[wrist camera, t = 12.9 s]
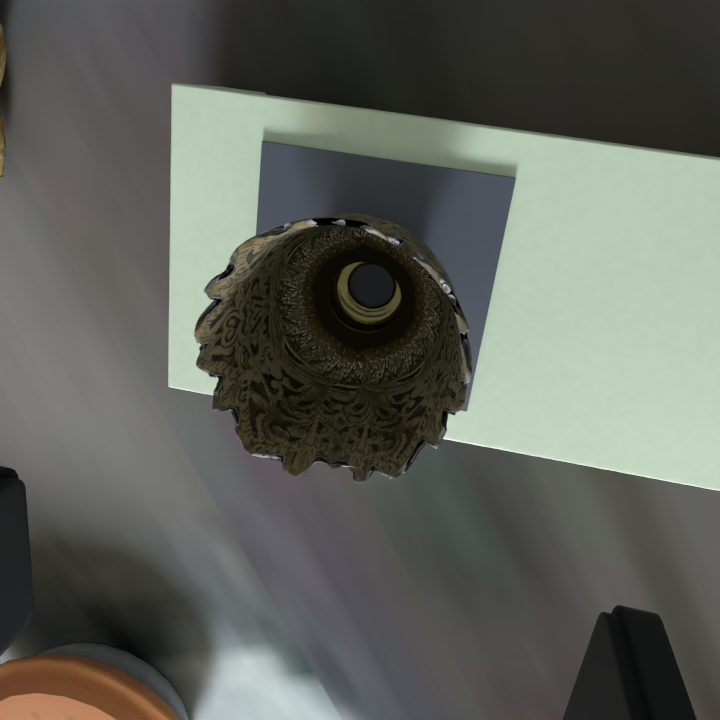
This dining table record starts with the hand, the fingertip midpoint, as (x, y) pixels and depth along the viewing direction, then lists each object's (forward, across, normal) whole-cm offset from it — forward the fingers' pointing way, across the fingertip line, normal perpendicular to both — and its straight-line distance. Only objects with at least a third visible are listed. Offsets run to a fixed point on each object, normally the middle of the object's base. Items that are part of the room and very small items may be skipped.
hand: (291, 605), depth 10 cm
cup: (+16, +1, -1) cm, 16 cm away
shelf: (+21, -3, -1) cm, 21 cm away
